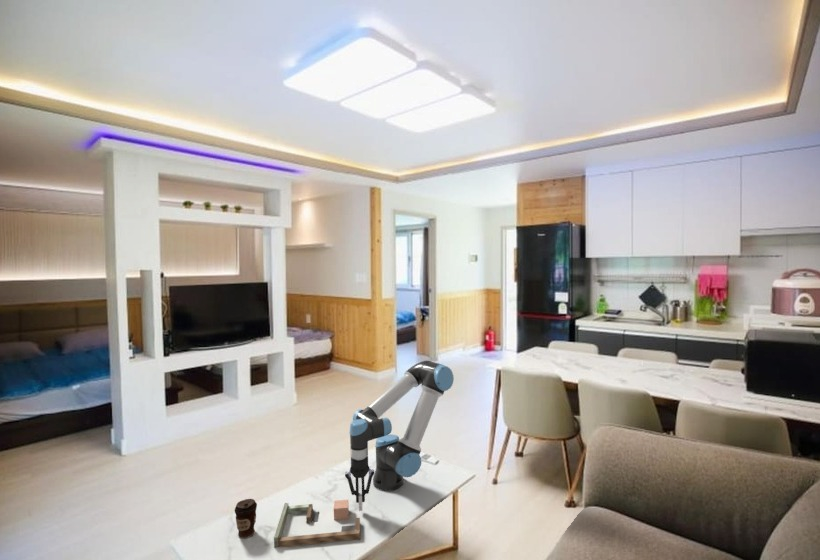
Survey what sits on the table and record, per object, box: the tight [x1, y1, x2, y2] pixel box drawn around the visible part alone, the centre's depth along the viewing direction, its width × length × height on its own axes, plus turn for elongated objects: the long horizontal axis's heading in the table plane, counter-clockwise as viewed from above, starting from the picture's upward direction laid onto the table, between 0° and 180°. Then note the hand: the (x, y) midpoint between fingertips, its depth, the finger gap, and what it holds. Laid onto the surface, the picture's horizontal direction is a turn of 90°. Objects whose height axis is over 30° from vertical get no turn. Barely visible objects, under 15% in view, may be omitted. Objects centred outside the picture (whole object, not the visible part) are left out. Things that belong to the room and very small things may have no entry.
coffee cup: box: [234, 498, 258, 539], centre depth 167 cm, size 9×8×13 cm
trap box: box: [273, 502, 361, 548], centre depth 173 cm, size 33×23×4 cm
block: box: [333, 499, 350, 521], centre depth 179 cm, size 6×6×5 cm
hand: (360, 508), depth 180 cm, fingers closed
